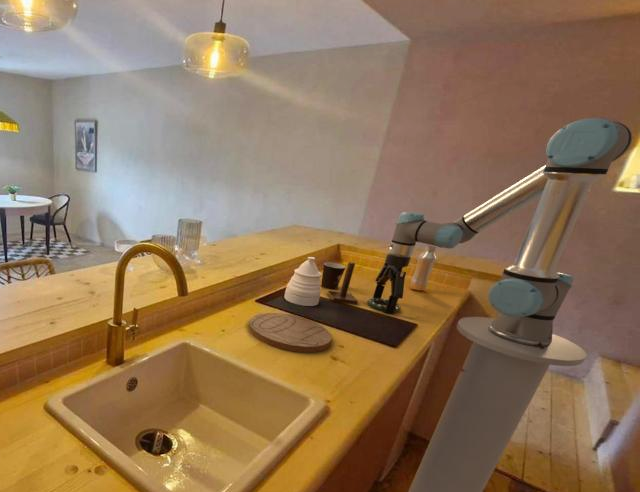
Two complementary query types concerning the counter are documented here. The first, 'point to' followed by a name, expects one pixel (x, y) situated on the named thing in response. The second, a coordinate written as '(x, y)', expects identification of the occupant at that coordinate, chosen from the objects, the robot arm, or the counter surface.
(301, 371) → the counter surface
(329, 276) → the coffee mug
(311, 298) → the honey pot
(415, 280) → the plastic bottle
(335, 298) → the post
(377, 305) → the ring
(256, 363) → the counter surface
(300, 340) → the trivet
